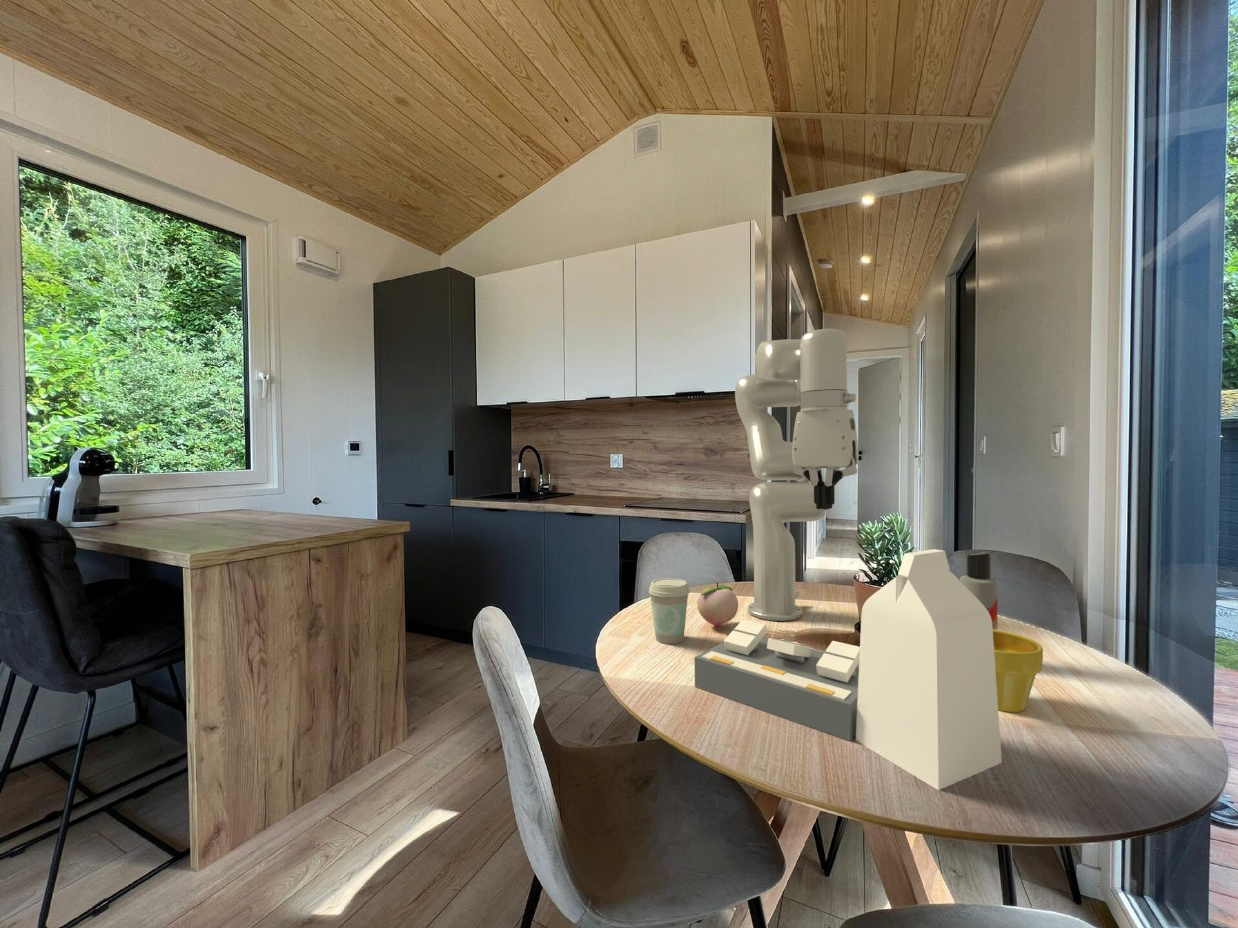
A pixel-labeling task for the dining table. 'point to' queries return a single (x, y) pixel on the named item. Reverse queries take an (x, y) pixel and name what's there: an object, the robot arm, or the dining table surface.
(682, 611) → the coffee cup
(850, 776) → the dining table surface
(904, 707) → the milk
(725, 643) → the rocker
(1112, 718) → the dining table surface
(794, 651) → the rocker
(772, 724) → the dining table surface
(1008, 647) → the plant pot
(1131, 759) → the dining table surface
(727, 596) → the decorative fruit
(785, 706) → the switch unit
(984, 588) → the lotion bottle
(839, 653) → the rocker
